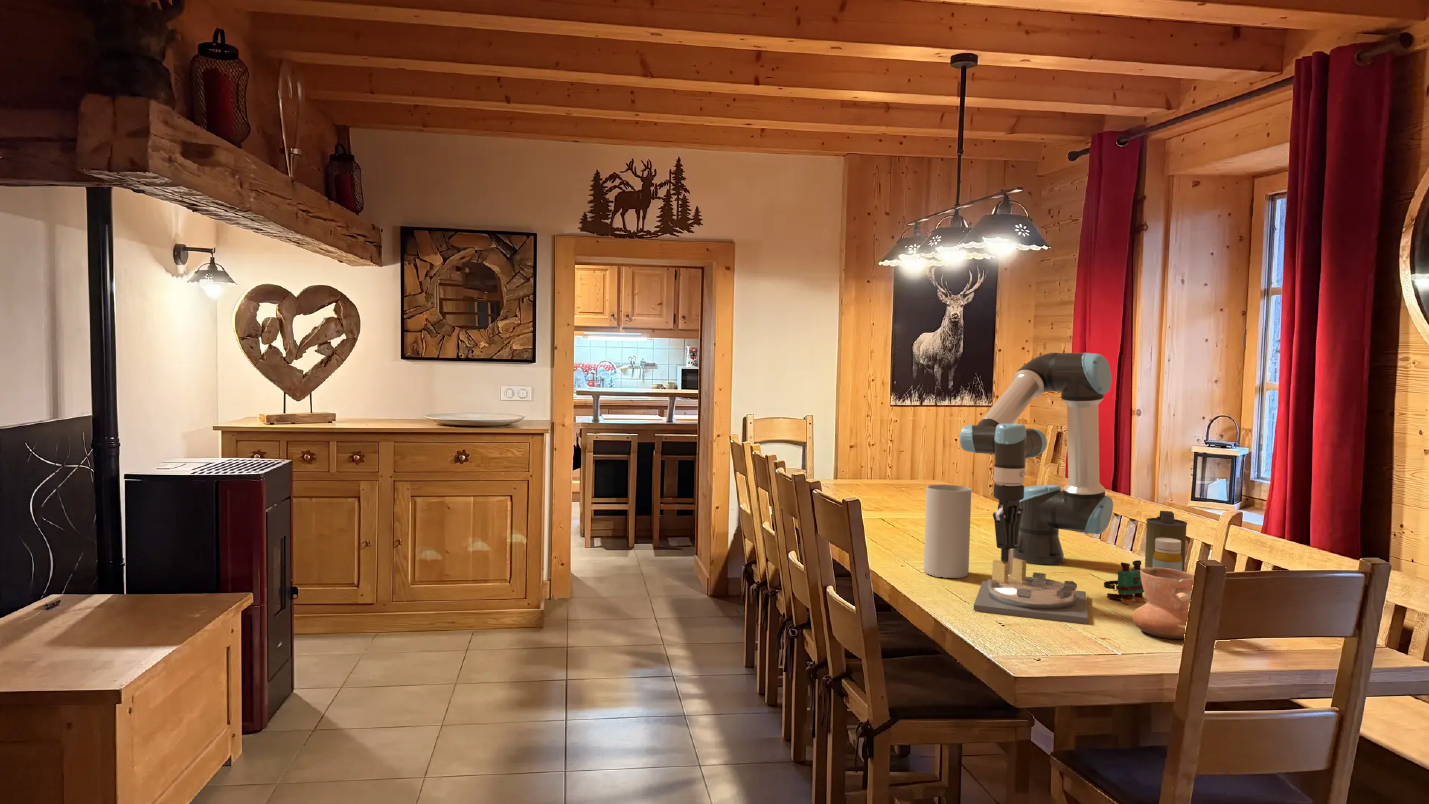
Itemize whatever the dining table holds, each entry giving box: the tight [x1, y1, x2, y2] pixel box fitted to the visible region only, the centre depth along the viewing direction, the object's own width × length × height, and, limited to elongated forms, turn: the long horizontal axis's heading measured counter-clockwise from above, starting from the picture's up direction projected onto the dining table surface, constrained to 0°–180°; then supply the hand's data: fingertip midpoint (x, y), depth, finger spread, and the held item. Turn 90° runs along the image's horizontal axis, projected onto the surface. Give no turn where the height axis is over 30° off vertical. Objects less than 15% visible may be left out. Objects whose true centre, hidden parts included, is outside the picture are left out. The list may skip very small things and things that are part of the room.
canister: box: [1144, 510, 1188, 572], centre depth 254 cm, size 11×10×20 cm
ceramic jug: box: [1131, 567, 1195, 640], centre depth 206 cm, size 18×14×14 cm
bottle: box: [1152, 538, 1182, 571], centre depth 239 cm, size 7×7×15 cm
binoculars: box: [1103, 559, 1146, 605], centre depth 235 cm, size 9×11×10 cm
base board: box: [973, 580, 1089, 625], centre depth 229 cm, size 26×26×2 cm
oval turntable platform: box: [987, 558, 1078, 610], centre depth 229 cm, size 21×21×8 cm
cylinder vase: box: [923, 484, 972, 579], centre depth 258 cm, size 12×12×25 cm
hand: (1006, 573), depth 234 cm, fingers closed
